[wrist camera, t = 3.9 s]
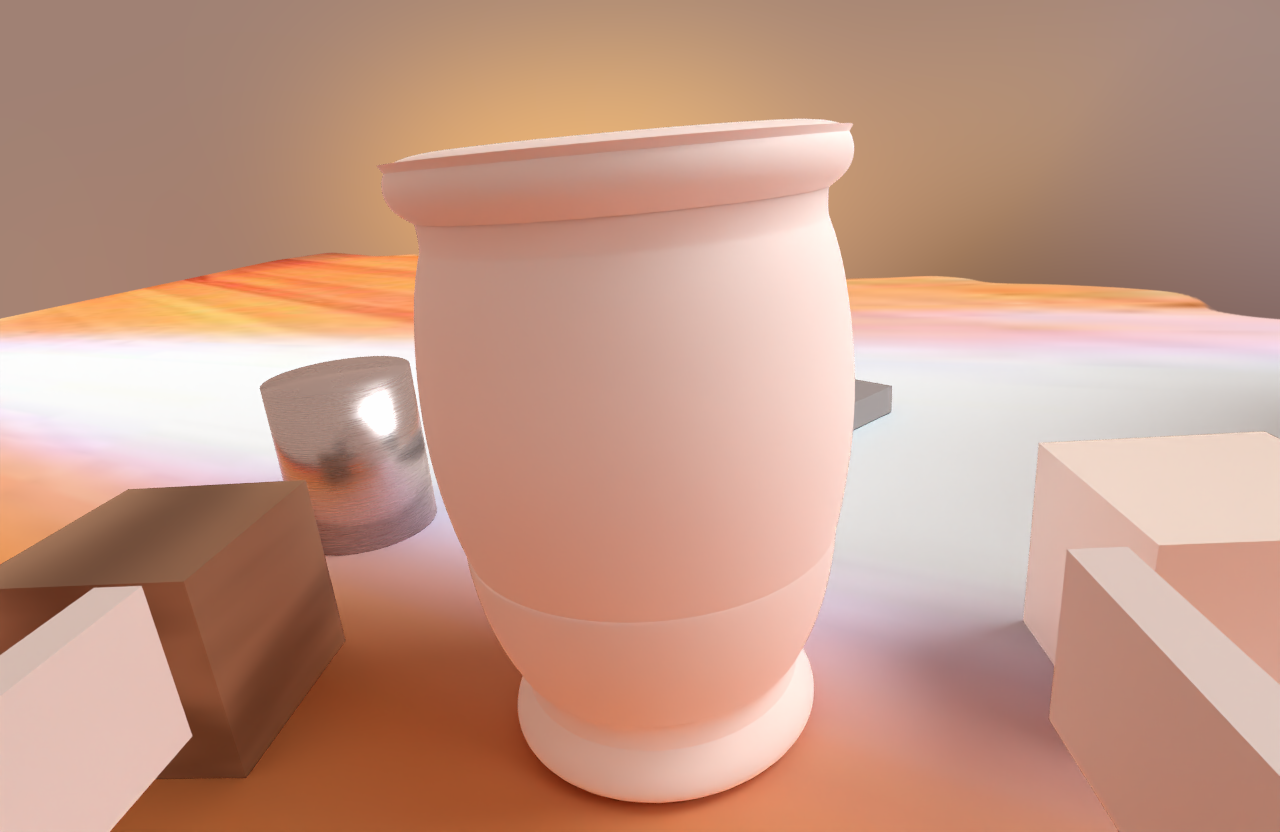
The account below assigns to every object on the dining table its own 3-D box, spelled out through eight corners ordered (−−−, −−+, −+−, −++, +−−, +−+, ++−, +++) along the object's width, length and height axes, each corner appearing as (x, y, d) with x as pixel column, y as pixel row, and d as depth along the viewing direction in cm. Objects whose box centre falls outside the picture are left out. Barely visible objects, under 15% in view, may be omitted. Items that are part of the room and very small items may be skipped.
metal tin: (460, 518, 34) (433, 368, 32) (326, 570, 30) (285, 405, 28) (403, 484, 38) (376, 350, 36) (280, 526, 35) (242, 380, 33)
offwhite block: (1229, 616, 23) (1264, 431, 21) (1401, 767, 17) (1471, 533, 15) (1023, 622, 24) (1038, 442, 22) (1125, 770, 18) (1158, 545, 16)
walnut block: (345, 642, 26) (305, 480, 24) (247, 779, 20) (183, 581, 18) (180, 647, 26) (128, 489, 24) (38, 783, 21) (-45, 590, 19)
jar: (825, 905, 15) (816, 106, 11) (402, 794, 19) (254, 166, 14) (868, 612, 25) (875, 118, 20) (580, 576, 28) (526, 152, 24)
